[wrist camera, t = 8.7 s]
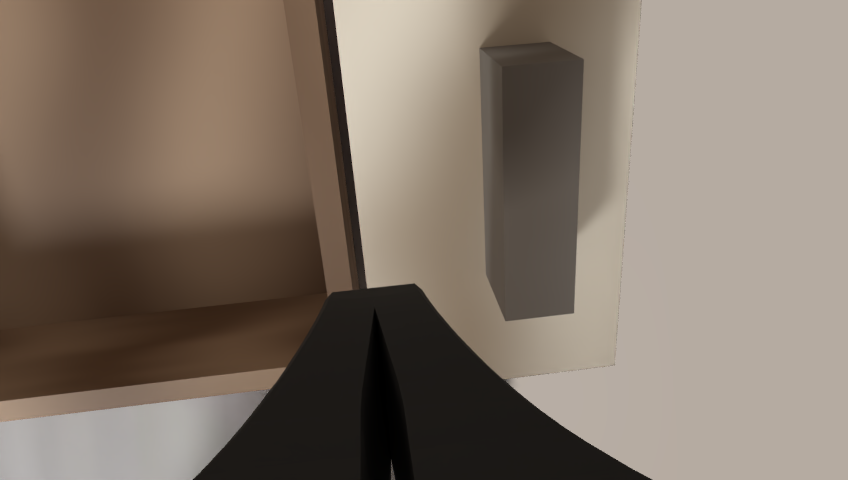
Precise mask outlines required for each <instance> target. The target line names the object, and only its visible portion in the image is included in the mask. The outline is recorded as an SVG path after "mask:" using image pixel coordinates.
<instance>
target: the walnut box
mask: <svg viewBox="0 0 848 480" xmlns="http://www.w3.org/2000/svg"><path fill="white" fill-rule="evenodd" d="M357 289H359V282H358V274H357V266H356V259H355V251H354V243H353V235H352V227H351V219H350V211H349V203H348V195H347V187H346V179H345V171H344V163H343V155H342V147H341V139H340V131H339V123H338V115H337V107H336V99H335V91H334V83H333V75H332V67H331V59H330V51H329V43H328V35H327V27H326V20H325V12H324V4H323V0H0V422H4V421H12V420H21V419H29V418H37V417H45V416H53V415H62V414H70V413H78V412H86V411H94V410H102V409H111V408H119V407H127V406H135V405H143V404H152V403H160V402H168V401H176V400H184V399H192V398H201V397H209V396H217V395H225V394H233V393H242V392H250V391H258V390H266V389H271V388H272V387H273V386H274V384H275V383H276V382H277V380H278V379H279V377H280V376H281V375H282V373H283V372H284V370H285V369H286V367H287V365H288V364H289V362H290V361H291V359H292V358H293V356H294V355H295V353H296V352H297V350H298V349H299V347H300V345H301V344H302V342H303V341H304V339H305V337H306V336H307V334H308V332H309V330H310V329H311V327H312V325H313V323H314V322H315V320H316V318H317V316H318V314H319V312H320V310H321V308H322V306H323V304H324V302H325V300H326V299H327V298H328V296H329V295H330V294H331V293H332V292H339V291H348V290H357Z"/></svg>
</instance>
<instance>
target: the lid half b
mask: <svg viewBox="0 0 848 480" xmlns="http://www.w3.org/2000/svg"><path fill="white" fill-rule="evenodd" d="M641 2H642V0H333V7H334V15H335V23H336V32H337V40H338V48H339V57H340V65H341V74H342V82H343V90H344V99H345V107H346V115H347V124H348V132H349V140H350V149H351V157H352V166H353V174H354V182H355V191H356V199H357V207H358V216H359V224H360V233H361V241H362V249H363V258H364V266H365V274H366V283H367V288H376V287H385V286H394V285H404V284H413V283H415V284H416V285H417V286H418V287H420V288H421V289H422V290H423V292H424V293H425V295H426V296H427V298H428V299H429V301H430V302H431V303H432V305H433V306H434V307H435V309H436V310H437V311H438V312H439V314H440V315H441V316H442V317H443V318H444V320H445V321H446V322H447V323H448V324H449V326H450V327H451V328H452V329H453V330H454V331H455V332H456V333H457V334H458V336H459V337H460V338H461V339H462V340H463V341H464V342H465V343H466V344H467V345H468V346H469V347H470V348H471V349H472V350H473V351H474V352H475V353H476V354H477V355H478V356H479V357H480V358H481V359H482V360H483V361H484V362H485V363H486V364H487V365H488V366H489V367H490V368H491V369H492V370H493V371H494V372H495V373H497V374H498V375H499V376H500V377H501V378H502V379H509V378H517V377H525V376H532V375H540V374H549V373H556V372H565V371H573V370H581V369H588V368H597V367H605V366H613V365H615V354H616V340H617V327H618V314H619V313H618V312H619V300H620V286H621V272H622V259H623V246H624V232H625V219H626V204H627V192H628V191H627V190H628V178H629V164H630V151H631V138H632V124H633V111H634V97H635V84H636V69H637V56H638V43H639V29H640V16H641Z"/></svg>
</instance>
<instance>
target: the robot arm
mask: <svg viewBox="0 0 848 480" xmlns="http://www.w3.org/2000/svg"><path fill="white" fill-rule="evenodd" d="M391 460H392V465H393V470H394V475H395V480H652V479H650V478H648V477H646V476H644V475H642V474H641V473H639V472H637V471H635V470H633V469H631V468H629V467H628V466H626V465H624V464H623V463H621V462H619V461H618V460H616V459H614V458H613V457H611V456H609V455H608V454H606V453H604V452H602V451H601V450H599V449H597V448H596V447H594V446H592V445H591V444H589V443H587V442H586V441H584V440H583V439H581V438H579V437H578V436H577V435H575V434H573V433H572V432H570V431H569V430H567V429H566V428H564V427H563V426H561V425H560V424H559V423H557V422H556V421H555V420H553V419H551V418H550V417H549V416H547V415H546V414H545V413H543V412H542V411H541V410H539V409H538V408H537V407H536V406H534V405H533V404H532V403H530V402H529V401H528V400H527V399H526V398H524V397H523V396H522V395H521V394H519V393H518V392H517V391H516V390H515V389H513V388H512V387H511V386H510V385H509V384H508V383H507V382H506V381H504V380H503V379H502V378H501V377H500V376H499V375H498V374H497V373H495V372H494V371H493V370H492V369H491V368H490V367H489V366H488V365H487V364H486V363H485V362H484V361H483V360H482V359H481V358H480V357H479V356H478V355H477V354H476V353H475V352H474V351H473V350H472V349H471V348H470V347H469V346H468V345H467V344H466V343H465V342H464V341H463V340H462V339H461V338H460V337H459V336H458V334H457V333H456V332H455V331H454V330H453V329H452V328H451V327H450V326H449V324H448V323H447V322H446V321H445V320H444V318H443V317H442V316H441V315H440V314H439V312H438V311H437V310H436V309H435V307H434V306H433V305H432V303H431V302H430V301H429V299H428V298H427V296H426V295H425V293H424V292H423V290H422V289H421V288H420V287H418V286H417V285H416V284H415V283H413V284H404V285H394V286H385V287H376V288H367V289H357V290H348V291H339V292H332V293H331V294H330V295H329V296H328V298H327V299H326V300H325V302H324V304H323V306H322V308H321V310H320V312H319V314H318V316H317V318H316V320H315V322H314V323H313V325H312V327H311V329H310V330H309V332H308V334H307V336H306V337H305V339H304V341H303V342H302V344H301V345H300V347H299V349H298V350H297V352H296V353H295V355H294V356H293V358H292V359H291V361H290V362H289V364H288V365H287V367H286V369H285V370H284V372H283V373H282V375H281V376H280V377H279V379H278V380H277V382H276V383H275V384H274V386H273V387H272V388H271V390H270V391H269V392H268V393H267V395H266V396H265V397H264V399H263V400H262V401H261V403H260V404H259V405H258V407H257V408H256V409H255V411H254V412H253V413H252V415H251V416H250V417H249V418H248V420H247V421H246V422H245V423H244V424H243V426H242V427H241V428H240V429H239V430H238V432H237V433H236V434H235V435H234V436H233V437H232V439H231V440H230V441H229V442H228V443H227V444H226V445H225V447H224V448H223V449H222V450H221V451H220V452H219V453H218V454H217V455H216V456H215V457H214V458H213V460H212V461H211V462H210V463H209V464H208V465H207V466H206V467H205V468H204V469H203V470H202V471H201V472H200V473H199V474H198V475H197V476H196V477H195V478H194V479H193V480H391Z"/></svg>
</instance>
